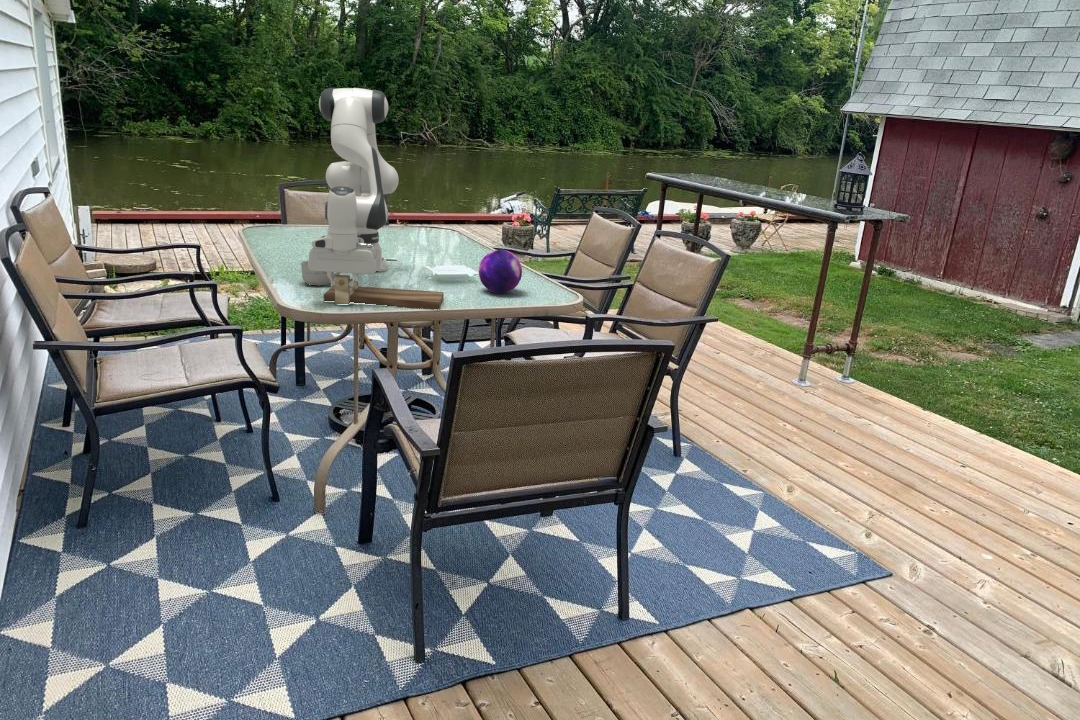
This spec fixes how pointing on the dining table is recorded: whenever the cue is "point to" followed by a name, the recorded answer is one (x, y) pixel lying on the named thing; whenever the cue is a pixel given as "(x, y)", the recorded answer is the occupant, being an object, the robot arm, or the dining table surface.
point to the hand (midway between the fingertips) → (342, 286)
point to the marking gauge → (343, 289)
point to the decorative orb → (500, 271)
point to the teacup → (315, 275)
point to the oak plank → (393, 297)
